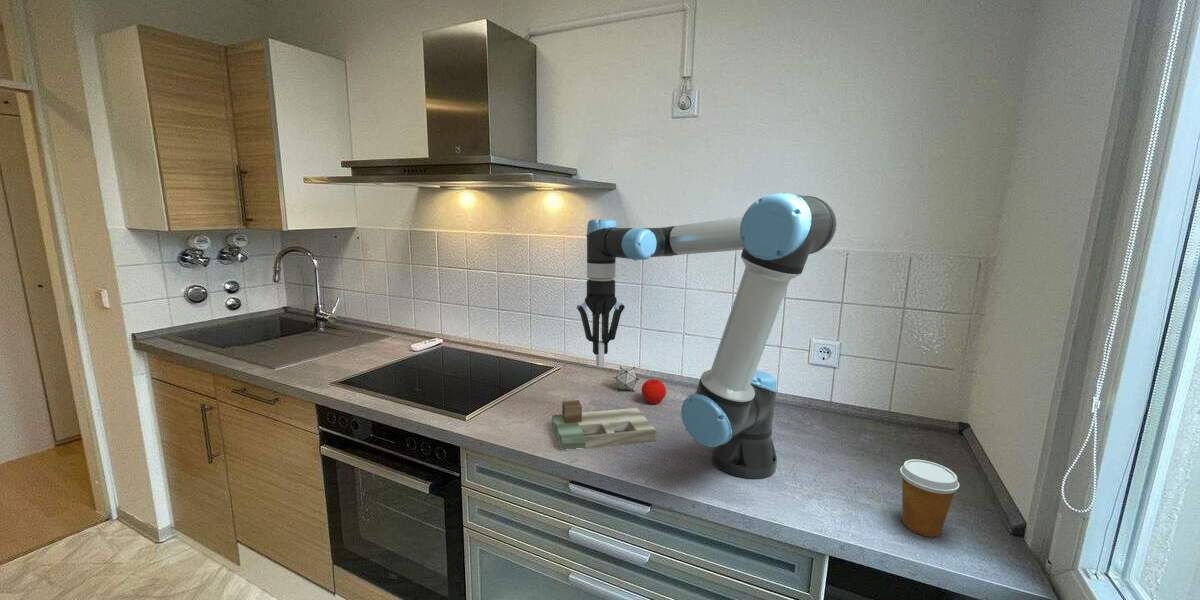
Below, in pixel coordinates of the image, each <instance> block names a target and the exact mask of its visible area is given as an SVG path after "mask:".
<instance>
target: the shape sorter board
mask: <svg viewBox="0 0 1200 600" xmlns="http://www.w3.org/2000/svg"><path fill="white" fill-rule="evenodd" d="M551 426H553V427H552V429H553V431H555V432H554V433H555V436H557V437H556V439H557V441H559V442H558V444H559V443H560V444H559V447H560V446H561V447H560V449H561V448H562V450H565V451H567V450H566V449H575V450H577V449H576V448H584V449H591V448H590V447H594V448H602V447H601V446H603V447H610V446H612V447H613V446H619V445H621V446H622V445H630V444H638V443H641V444H642V443H649V442H656V439H657V437H656V436H657V434H656V433H657V429H656V428H655V427H654V426H653V425H652V424H651V423H650V422H649V420H648V419H647V418H646V417H645V416H644V414H643V413H642V412H641V411H640V409H639V408H638V407H633V408H622V409H608V410H596V411H587V412H585V411H584V412H582V422H578V423H566V424H565V422H564V420H563V417H562V413H561V414H560V413H559V414H552V415H551ZM562 450H561V451H562Z"/></svg>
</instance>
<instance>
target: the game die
mask: <svg viewBox="0 0 1200 600" xmlns="http://www.w3.org/2000/svg"><path fill="white" fill-rule="evenodd" d="M635 369H636V366H633V368H632V367H622V366H621V365H619V370H618V372H617V374H616V376H613V379H615V380H616V383H617V386H618V389H617V391H618V392H619V391H620V390H629V391H632V392H633V393H634V392H635V390H634V388H635V386H636V384H637V382H638V381H640V378H638V376H637V373H636V370H635Z"/></svg>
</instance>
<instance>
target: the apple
mask: <svg viewBox="0 0 1200 600" xmlns="http://www.w3.org/2000/svg"><path fill="white" fill-rule="evenodd" d="M640 390H641V395H642V396H643V398H644V400H645V401H646V402H648V404H653V405H658V404H659V403H662V401H663V400H664V399H665V397H666V394H667V388H666V386H665V384H664V383H663V382H662V381H661V380H659V379H654V378H652V379H648V380H646V381H645V382H644V383H643V384H642V386H641V389H640Z"/></svg>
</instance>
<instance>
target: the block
mask: <svg viewBox="0 0 1200 600" xmlns="http://www.w3.org/2000/svg"><path fill="white" fill-rule="evenodd" d="M561 405H562V407H561V409H562V410H561V414H562V417H563V420H564V422H565V424H566V423H578V422H582V413H583V406H582V404H581V402H580V401H579V399H576V400H564V401H563V400H562V403H561Z"/></svg>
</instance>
